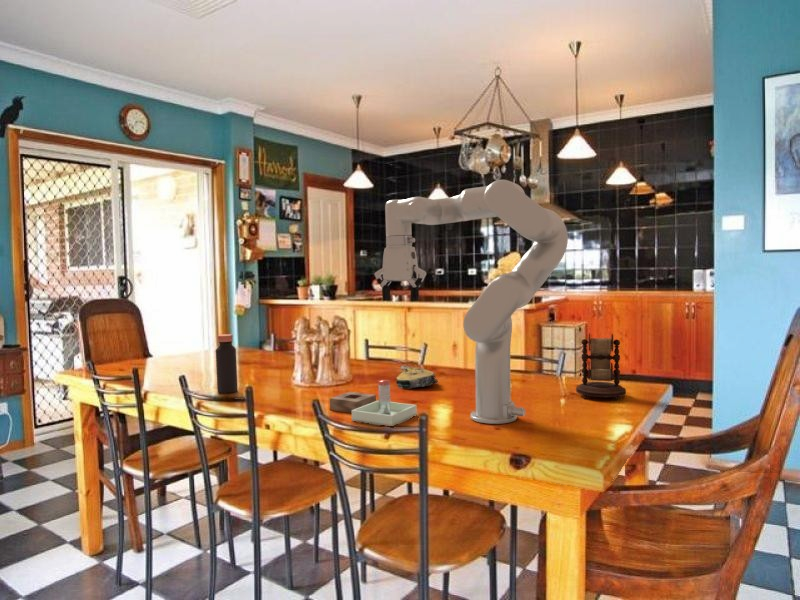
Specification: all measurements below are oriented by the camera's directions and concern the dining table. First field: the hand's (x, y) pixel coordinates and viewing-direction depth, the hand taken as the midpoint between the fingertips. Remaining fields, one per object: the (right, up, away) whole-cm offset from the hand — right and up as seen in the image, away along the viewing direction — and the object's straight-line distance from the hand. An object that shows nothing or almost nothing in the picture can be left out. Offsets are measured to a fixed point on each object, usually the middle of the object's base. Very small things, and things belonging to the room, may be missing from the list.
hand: (400, 300), depth 168 cm
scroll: (+63, -30, +11) cm, 71 cm away
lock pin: (-4, -32, -9) cm, 34 cm away
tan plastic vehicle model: (+5, -30, +40) cm, 51 cm away
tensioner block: (-14, -33, +4) cm, 36 cm away
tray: (-4, -33, -8) cm, 34 cm away
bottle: (-61, -32, +32) cm, 76 cm away
